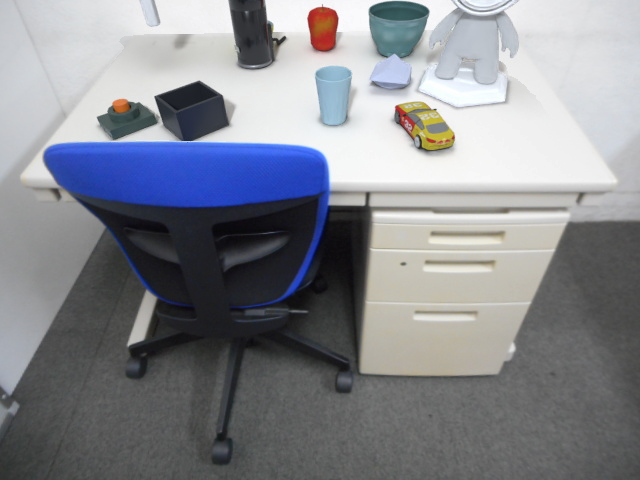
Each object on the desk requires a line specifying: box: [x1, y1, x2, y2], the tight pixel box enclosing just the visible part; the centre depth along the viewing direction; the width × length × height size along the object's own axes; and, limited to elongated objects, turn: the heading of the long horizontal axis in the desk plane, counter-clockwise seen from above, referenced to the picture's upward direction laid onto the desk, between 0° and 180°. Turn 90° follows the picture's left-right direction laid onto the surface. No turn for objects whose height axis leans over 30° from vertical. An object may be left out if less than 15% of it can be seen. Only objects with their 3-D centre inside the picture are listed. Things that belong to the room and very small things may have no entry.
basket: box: [153, 80, 230, 142], centre depth 89 cm, size 11×10×7 cm
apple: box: [306, 3, 340, 52], centre depth 116 cm, size 9×8×12 cm
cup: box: [314, 65, 353, 126], centre depth 88 cm, size 8×8×10 cm
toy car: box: [394, 101, 456, 151], centre depth 85 cm, size 8×17×5 cm, turn 16°
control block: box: [96, 100, 158, 140], centre depth 91 cm, size 10×8×4 cm
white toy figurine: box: [418, 0, 520, 108], centre depth 89 cm, size 20×23×35 cm
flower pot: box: [367, 0, 431, 58], centre depth 114 cm, size 16×16×11 cm
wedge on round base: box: [368, 54, 413, 90], centre depth 101 cm, size 9×7×13 cm
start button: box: [111, 98, 130, 113], centre depth 89 cm, size 3×3×2 cm
